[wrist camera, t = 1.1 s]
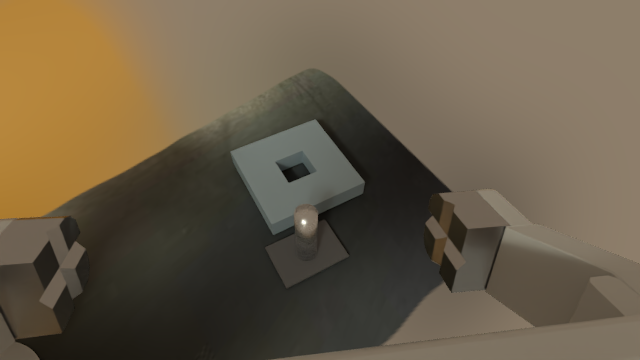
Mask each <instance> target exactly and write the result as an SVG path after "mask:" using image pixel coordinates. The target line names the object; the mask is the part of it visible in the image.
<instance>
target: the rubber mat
mask: <svg viewBox="0 0 640 360" xmlns="http://www.w3.org/2000/svg"><path fill="white" fill-rule="evenodd" d="M265 249H266V251H267V253H268V255H269V257H270V259H271V261H272V262H273V264H274V266H275V268H276V270H277V272H278V274H279V276H280V278H281V279H282V281H283V283H284V285H285V287H286V289H288V288H290V287H292V286H293V285H295V284H297V283H299V282H301V281H303V280H305V279H307V278H309V277H311V276H313V275H315V274H317V273H319V272H321V271H322V270H324V269H326V268H328V267H330V266H332V265H334V264H336V263H338V262H340V261H342V260H344V259H346V258H348V257H349V255H348V253H347V252H346V250H345V249H344V247H343V246H342V244H341V243H340V241H339V240H338V238H337V237H336V235H335V234H334V232H333V231H332V229H331V228H330V226H329V225H328V223H327V222H326V220H325V219H324V220H322V221H320V222H318V234H317V255H316V257H315V258H314V259H312V260H310V261H303V260H301V259H300V258H299V257H298V256H297V253H296V240H295V234H292V235H290V236H288V237H286V238H284V239H282V240H280V241H278V242H275V243H273V244H271V245H269V246H267V247H265Z"/></svg>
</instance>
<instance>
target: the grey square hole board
mask: <svg viewBox="0 0 640 360" xmlns="http://www.w3.org/2000/svg"><path fill="white" fill-rule="evenodd" d="M230 152H231V156H232V160H233V164H234V165H235V167H236V169H237V171H238V173H239V174H240V176H241V178H242V180H243V182H244V183H245V185H246V187H247V189H248V191H249V192H250V194H251V196H252V198H253V200H254V201H255V203H256V205H257V207H258V209H259V210H260V212H261V214H262V216H263V218H264V219H265V221H266V223H267V225H268V226H269V228H270V230H271V232H272V234H273V235H275V234H277V233H279V232H281V231H283V230H285V229H287V228H290V227H292V226H294V211H295V209H296V208H297V207H298V206H299V205H301V204H311V205H313V206H314V207H315V208H316V209H317V211H318V214H320V213H322V212H324V211H326V210H328V209H331V208H333V207H335V206H337V205H339V204H341V203H343V202H346V201H348V200H350V199H352V198H354V197H356V196H359V195H361V194H363V191H364V185H365V182H364V180H363V179H362V178H361V177H360V175H359V174H358V173H357V171H356V170H355V169H354V168H353V166H352V165H351V164H350V163H349V161H348V160H347V159H346V158H345V156H344V155H343V154H342V152H341V151H340V150H339V149H338V147H337V146H336V145H335V144H334V142H333V141H332V140H331V138H330V137H329V136H328V135H327V133H326V132H325V131H324V130H323V128H322V127H321V126H320V125H319V123H318V122H317V121H316V119H315V120H312V121H310V122H307V123H304V124H302V125H299V126H296V127H294V128H291V129H288V130H286V131H283V132H280V133H278V134H275V135H272V136H270V137H267V138H265V139H262V140H259V141H257V142H254V143H251V144H249V145H246V146H243V147H241V148H238V149H235V150H233V151H230ZM302 162H303V163H304V165H305V166H306V168H307V169H308V171H309V172H310V174H309V175H307V176H305V177H302V178H300V179H298V180H295V181H293V182H290V183H288V181H287V179H286V178H285V176H284V175H283V173H282V172H281V171H283V170H285V169H288V168H290V167H293V166H295V165H297V164H300V163H302Z"/></svg>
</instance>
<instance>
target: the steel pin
mask: <svg viewBox="0 0 640 360" xmlns="http://www.w3.org/2000/svg"><path fill="white" fill-rule="evenodd" d="M294 225H295V240H296V253H297V256H298V257H299V258H300V259H301V260H303V261H310V260H312V259H314V258H315V257H316V255H317V234H318V211H317V209H316V208H315V207H314V206H313V205H311V204H301V205H299V206H298V207H297V208H296V209H295V211H294Z"/></svg>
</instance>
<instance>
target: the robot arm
mask: <svg viewBox="0 0 640 360" xmlns="http://www.w3.org/2000/svg"><path fill="white" fill-rule="evenodd" d="M428 209H429V211H430V212H431V214H432V215H433V216H432V217H431V218H430V219H429V220H428V221H427V222H426V223H425V229H424V244H425V248H426V251H427V254H428V255H429V257H430V259H431V260H432V261H434V262H435V263H437V264H439V265H440V271H439V274H440V275H441V277H442V278H443V280H444V282H445V283H446V285H447V286H448V288H449V290H450V291H451V293H453V292H466V291H480V290H486V292H487V293H488V294H490V295H491V296H492V297H494V298H495V299H496V300H498V301H499V302H501V303H502V304H504V305H505V306H506V307H508V308H509V309H511V310H512V311H513V312H515V313H516V314H518V315H519V316H521V317H522V318H523V319H525V320H526V321H528V322H529V323H531V324H532V325H533V326H535V327H533V328H525V329H517V330H509V331H501V332H492V333H484V334H476V335H467V336H459V337H451V338H443V339H435V340H427V341H418V342H411V343H402V344H394V345H385V346H377V347H369V348H361V349H352V350H344V351H336V352H328V353H319V354H311V355H303V356H295V357H286V358H278V359H270V360H640V264H639V263H636V262H633V261H631V260H629V259H626V258H624V257H621V256H619V255H616V254H614V253H611V252H609V251H606V250H603V249H601V248H598V247H596V246H593V245H591V244H588V243H586V242H583V241H581V240H578V239H576V238H573V237H571V236H568V235H566V234H563V233H561V232H558V231H556V230H553V229H551V228H548V227H545V226H543V225H540V224H532V223H531V222H530V221H529V220H528V219H527V218H526V217H524V216H523V215H522V214H521V213H520V212H519V211H518V210H517V209H516V208H515V207H514V206H513V205H511V204H510V203H509V202H508V201H507V200H506V199H505V198H504V197H503V196H502V195H500V193H498V192H497V191H496V190H494V189H481V190H472V191H462V192H450V193H439V194H433V195H432V197H431V199H430V202H429V207H428ZM79 234H80V231H79V228H78V225H77V223H76V220H75V219H74V218H72V217H71V216H58V217H36V218H19V219H17V218H11V219H0V360H40V359H39V357H38V356H37V355H36V353H35V352H34V351H33V350H32V349H30V348H29V347H27V346H26V345H23V344H21V343H17V342H15V339H20V338H28V337H36V336H44V335H51V334H59V333H63V331H64V329H65V327H66V325H67V323H68V321H69V319H70V317H71V315H72V313H73V311H74V309H75V306H74V303H73V300H72V299H73V298H75V297H76V296H77V295H79V294H80V293H82V292H83V290H84V288H85V286H86V284H87V282H88V276H89V269H90V267H89V258H88V255H87V252H86V249H85V248H84V247H82V246H81V245H80V244H78V243H77V242H76V239H77V237H78V235H79Z"/></svg>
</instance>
